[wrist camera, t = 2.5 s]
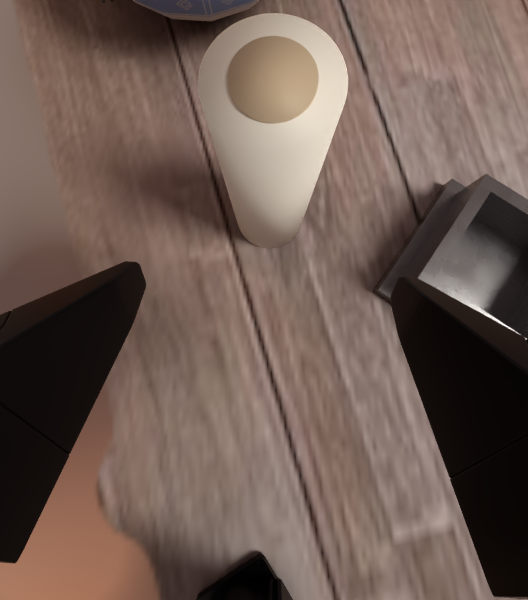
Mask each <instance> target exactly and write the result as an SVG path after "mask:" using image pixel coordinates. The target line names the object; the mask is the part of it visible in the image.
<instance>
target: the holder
mask: <svg viewBox="0 0 528 600" xmlns="http://www.w3.org/2000/svg"><path fill="white" fill-rule="evenodd" d="M400 276H415V277H416V278H418V279H420V280H422V281H424V282H426V283H427V284H429V285H431V286H433V287H435V288H436V289H438V290H440V291H442V292H444V293H446V294H447V295H449V296H451V297H453V298H455V299H456V300H458V301H460V302H462V303H464V304H466V305H467V306H469V307H471V308H473V309H475V310H476V311H478V312H480V313H482V314H484V315H485V316H487V317H489V318H491V319H493V320H495V321H496V322H498V323H500V324H502V325H504V326H505V327H507V328H509V329H511V330H513V331H515V332H516V333H518V334H520V335H522V336H524V337H525V338H526V339H528V199H526V198H524V197H523V196H521V195H519V194H518V193H516V192H515V191H513V190H511V189H510V188H508V187H507V186H505V185H503V184H502V183H500V182H499V181H497V180H495V179H494V178H492V177H490V176H489V175H487V174H485V175H484V176H482V177H481V178H479V179H478V180H476V181H475V182H473V183H472V184H470V185H469V186H467V187H465V186H463V185H462V184H460V183H458V182H457V181H455V180H454V179H451V180H450V181H449V182H447V183H446V184H445V185H444V186H443V187H442V189H441V190H440V192H439V193H438V195H437V196H436V198H435V199H434V201H433V202H432V204H431V205H430V207H429V208H428V210H427V211H426V213H425V214H424V216H423V217H422V219H421V220H420V222H419V223H418V225H417V226H416V228H415V229H414V231H413V232H412V234H411V235H410V237H409V238H408V240H407V241H406V243H405V244H404V246H403V247H402V249H401V250H400V252H399V253H398V255H397V256H396V258H395V259H394V261H393V262H392V264H391V265H390V267H389V268H388V270H387V271H386V273H385V274H384V276H383V277H382V279H381V280H380V282H379V283H378V285H377V286H376V288H375V289H374V292H375V293H377V294H378V295H380V296H381V297H383V298H384V299H386V300H387V301H389V302H390V296H391V293H392V291H393V289H394V287H395V284H396V282H397V280H398V278H399V277H400ZM390 303H391V302H390Z"/></svg>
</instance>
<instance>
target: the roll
mask: <svg viewBox="0 0 528 600" xmlns="http://www.w3.org/2000/svg"><path fill="white" fill-rule="evenodd" d="M347 91H348V74H347V68H346V64H345V61H344V58H343V56H342V54H341V52H340V50H339V48H338V47H337V45H336V44H335V42H334V41H333V40H332V39H331V38H330V36H328V35H327V34H326V33H325V32H324V31H323V30H322V29H320V28H319V27H318V26H316V25H315V24H313V23H311V22H309V21H307V20H305V19H302V18H299V17H296V16H292V15H288V14H280V13H267V14H259V15H255V16H251V17H248V18H245V19H242V20H240V21H238V22H236V23H234V24H233V25H231V26H230V27H228V28H227V29H225V30H224V31H223V32H222V33H221V34H219V35H218V36H217V37H216V39H215V40H214V41H213V42H212V43H211V45H210V46H209V48H208V49H207V51H206V53H205V55H204V57H203V59H202V62H201V65H200V69H199V74H198V93H199V98H200V102H201V106H202V109H203V112H204V115H205V119H206V122H207V125H208V129H209V132H210V135H211V138H212V142H213V145H214V148H215V151H216V155H217V158H218V161H219V165H220V168H221V171H222V174H223V178H224V181H225V184H226V187H227V191H228V194H229V197H230V200H231V204H232V207H233V210H234V214H235V217H236V220H237V223H238V227H239V229H240V231H241V233H242V234H243V236H244V237H245V238H246V239H247V240H248V241H249V242H251V243H252V244H254V245H256V246H259V247H262V248H276V247H280V246H283V245H285V244H287V243H288V242H290V241H291V240H292V239H293V238H294V237H295V236H296V234H297V233H298V231H299V229H300V226H301V223H302V221H303V218H304V215H305V212H306V210H307V207H308V204H309V201H310V198H311V196H312V193H313V190H314V187H315V185H316V182H317V179H318V176H319V173H320V171H321V168H322V165H323V162H324V160H325V157H326V154H327V151H328V148H329V146H330V143H331V140H332V137H333V135H334V132H335V129H336V126H337V123H338V121H339V118H340V115H341V112H342V110H343V107H344V104H345V100H346V97H347Z"/></svg>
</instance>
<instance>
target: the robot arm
mask: <svg viewBox="0 0 528 600" xmlns="http://www.w3.org/2000/svg"><path fill="white" fill-rule="evenodd" d="M145 288H146V282H145V278H144V275H143V273H142V270H141V267H140V265H139V263H137V262H127V261H126V262H123V263H120V264H118V265H116V266H113V267H111V268H109V269H106V270H104V271H102V272H99V273H97V274H95V275H92V276H90V277H88V278H85V279H83V280H81V281H78V282H76V283H74V284H71V285H69V286H67V287H64V288H62V289H60V290H57V291H55V292H53V293H50V294H48V295H46V296H43V297H41V298H39V299H36V300H34V301H32V302H29V303H27V304H25V305H22V306H20V307H18V308H15V309H13V310H12V311H8V312H6V313H4V314H1V315H0V562H4V563H16V562H17V560H18V559H19V557H20V555H21V553H22V551H23V550H24V548H25V546H26V543H27V541H28V539H29V537H30V535H31V533H32V531H33V529H34V527H35V525H36V523H37V521H38V519H39V517H40V515H41V513H42V511H43V509H44V506H45V504H46V502H47V500H48V498H49V496H50V494H51V492H52V490H53V488H54V486H55V484H56V482H57V480H58V478H59V475H60V474H61V472H62V469H63V467H64V465H65V463H66V461H67V459H68V457H69V454H70V453H71V451H72V448H73V446H74V444H75V442H76V440H77V438H78V436H79V434H80V432H81V429H82V428H83V426H84V424H85V422H86V420H87V417H88V415H89V414H90V411H91V409H92V407H93V405H94V403H95V401H96V399H97V397H98V395H99V393H100V391H101V389H102V387H103V385H104V383H105V381H106V379H107V376H108V374H109V372H110V370H111V368H112V366H113V364H114V362H115V360H116V358H117V356H118V354H119V352H120V350H121V348H122V346H123V344H124V341H125V339H126V337H127V335H128V333H129V331H130V329H131V327H132V325H133V322H134V320H135V317H136V314H137V311H138V308H139V306H140V303H141V300H142V297H143V294H144V291H145ZM390 302H391V306H392V310H393V315H394V319H395V324H396V328H397V332H398V336H399V339H400V342H401V345H402V348H403V351H404V353H405V356H406V359H407V362H408V364H409V367H410V370H411V373H412V375H413V378H414V381H415V384H416V386H417V389H418V392H419V395H420V397H421V400H422V403H423V406H424V408H425V411H426V414H427V417H428V419H429V422H430V425H431V428H432V430H433V433H434V436H435V439H436V441H437V444H438V447H439V450H440V453H441V455H442V458H443V461H444V464H445V466H446V469H447V472H448V475H449V477H450V478H451V479H450V481H451V483H452V486H453V489H454V492H455V494H456V497H457V500H458V503H459V505H460V508H461V511H462V514H463V516H464V519H465V522H466V525H467V527H468V530H469V533H470V536H471V538H472V541H473V544H474V547H475V549H476V552H477V555H478V558H479V560H480V563H481V566H482V569H483V571H484V574H485V577H486V580H487V582H488V585H489V587H490V590H491V592H492V594H493V596H494V597H504V598H518V599H528V339H526V338H525V337H524V336H522V335H520V334H518V333H516V332H515V331H513V330H511V329H509V328H507V327H505V326H504V325H502V324H500V323H498V322H496V321H495V320H493V319H491V318H489V317H487V316H485V315H484V314H482V313H480V312H478V311H476V310H475V309H473V308H471V307H469V306H467V305H466V304H464V303H462V302H460V301H458V300H456V299H455V298H453V297H451V296H449V295H447V294H446V293H444V292H442V291H440V290H438V289H436V288H435V287H433V286H431V285H429V284H427V283H426V282H424V281H422V280H420V279H418V278H416V277H415V276H400V277H399V278H398V280H397V282H396V284H395V287H394V289H393V291H392V293H391V296H390ZM258 562H262V564H259V563H258ZM196 600H293V599H292V597H291V596H290V594H289V592H288V590H287V589H286V587H285V585H284V584H283V582H282V580H281V579H279V578H277V576H276V575H275V573H274V571H273V569H272V568H271V566H270V564H269V563H268V561H267V559H266V557H265V556H264V555H262V554H258V555H256V556H255V557H253V558H252V559H250V560H249V561H247V562H246V563H244V564H243V565H241V566H240V567H238V568H237V569H235V570H234V571H232V572H231V573H229V574H228V575H226V576H225V577H223V578H222V579H220V580H219V581H217V582H216V583H214V584H213V585H211V586H210V587H208V588H207V589H205V590H204V591H202V592H201V593H200V594H199V595H198V596H197V599H196Z"/></svg>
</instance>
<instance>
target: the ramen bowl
mask: <svg viewBox="0 0 528 600" xmlns="http://www.w3.org/2000/svg"><path fill="white" fill-rule="evenodd" d="M102 1H103V3H104V2H105V0H102ZM132 1H134V2H135V3H137V4H139V5H141V6H144V7H146V8H148V9H150V10H153V11H155V12H157V13H159V14H162V15H164V16H166V17H169V18H171V19H180V20H197V21H214V20H217V19H220V18H224V17H227V16H230V15H233V14H236V13H239V12H242V11H245V10H248V9H250V8H251V7H253V6H254V5H255V4H256V3H258V2H259V1H260V0H132ZM111 2H113V0H111Z"/></svg>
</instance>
